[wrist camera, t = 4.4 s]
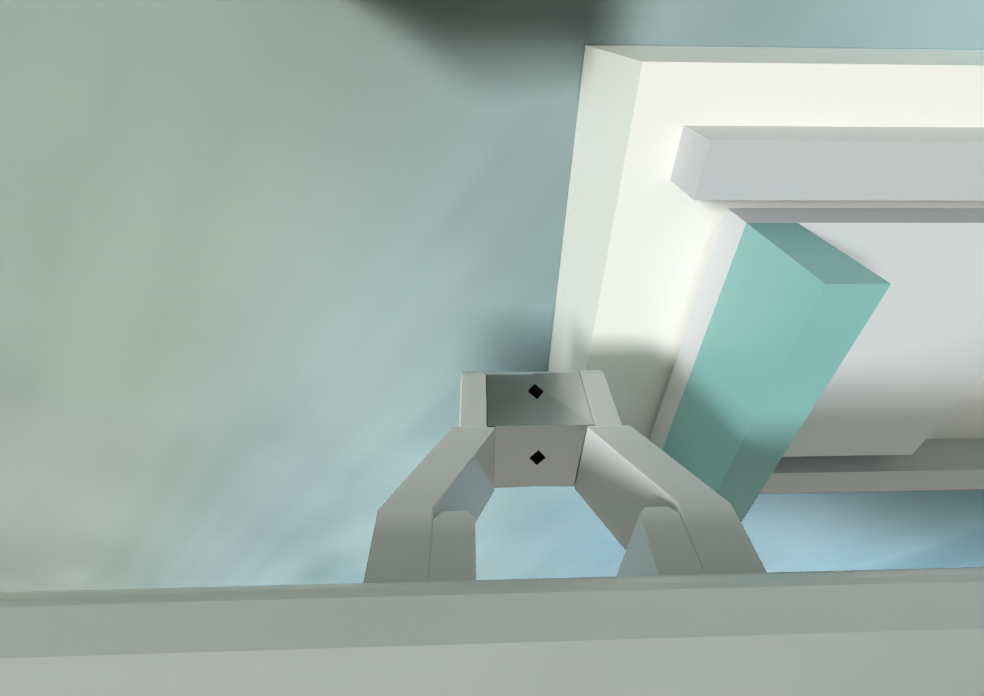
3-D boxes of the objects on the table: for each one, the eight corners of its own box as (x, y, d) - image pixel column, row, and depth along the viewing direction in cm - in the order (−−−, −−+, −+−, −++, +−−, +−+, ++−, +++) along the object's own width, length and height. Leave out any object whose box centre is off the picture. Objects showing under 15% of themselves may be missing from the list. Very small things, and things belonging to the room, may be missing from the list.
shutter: (727, 207, 9) (825, 283, 7) (1075, 208, 9) (1301, 282, 7) (649, 437, 13) (690, 537, 11) (891, 434, 14) (988, 531, 11)
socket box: (585, 45, 12) (666, 68, 7) (1299, 53, 12) (1854, 80, 7) (546, 384, 19) (571, 516, 14) (997, 379, 20) (1173, 503, 15)
